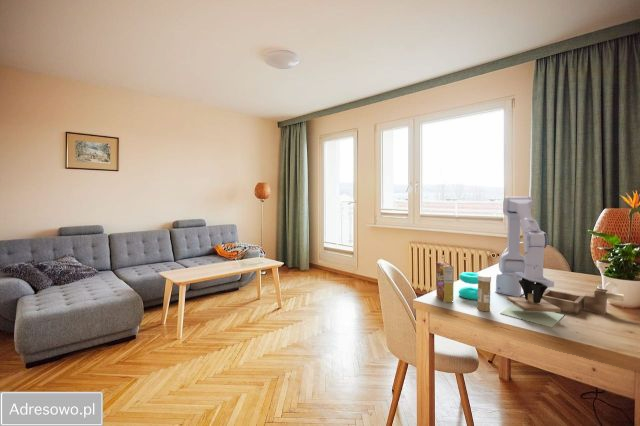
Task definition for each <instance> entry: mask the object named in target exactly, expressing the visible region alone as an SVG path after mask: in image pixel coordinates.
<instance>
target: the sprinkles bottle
mask: <svg viewBox="0 0 640 426" xmlns="http://www.w3.org/2000/svg"><path fill="white" fill-rule="evenodd" d="M478 274H479V275H478V284H477V288H478V300H477V307H476V308H477V310H479V311H482V312H489V311H491V282H492V276H491V275H489V274H485V273H484V274H483V273H478Z"/></svg>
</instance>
